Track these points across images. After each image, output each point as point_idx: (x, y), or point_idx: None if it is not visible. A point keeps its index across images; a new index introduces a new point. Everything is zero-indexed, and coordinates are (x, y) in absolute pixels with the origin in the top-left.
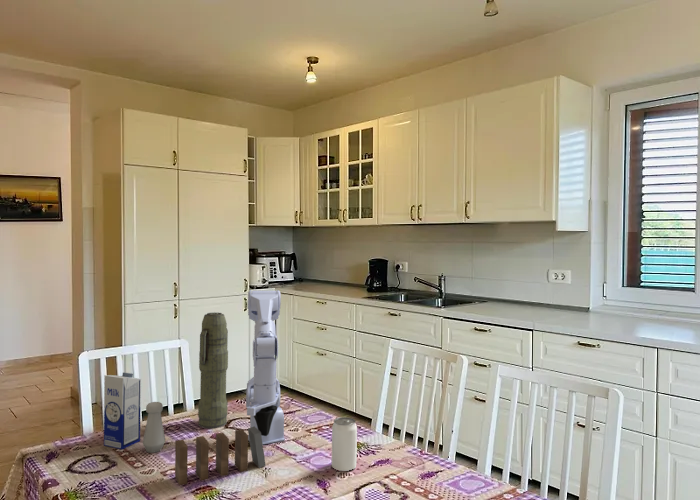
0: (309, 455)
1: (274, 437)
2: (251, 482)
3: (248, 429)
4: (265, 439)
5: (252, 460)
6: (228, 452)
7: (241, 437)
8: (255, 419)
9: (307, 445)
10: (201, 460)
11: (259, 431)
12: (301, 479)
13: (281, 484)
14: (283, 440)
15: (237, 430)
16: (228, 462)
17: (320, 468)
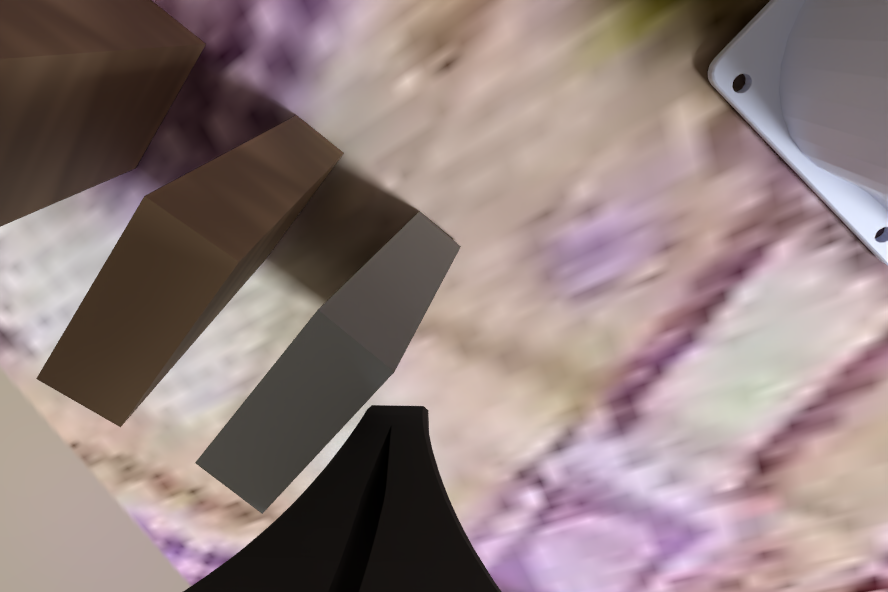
0: (637, 496)
1: (881, 200)
2: None
3: (305, 326)
4: (809, 148)
5: (417, 213)
6: (6, 222)
7: (45, 374)
8: (255, 542)
9: (806, 437)
10: None
11: (272, 494)
12: None
13: (226, 496)
14: (879, 258)
15: (161, 228)
16: (76, 193)
17: None
